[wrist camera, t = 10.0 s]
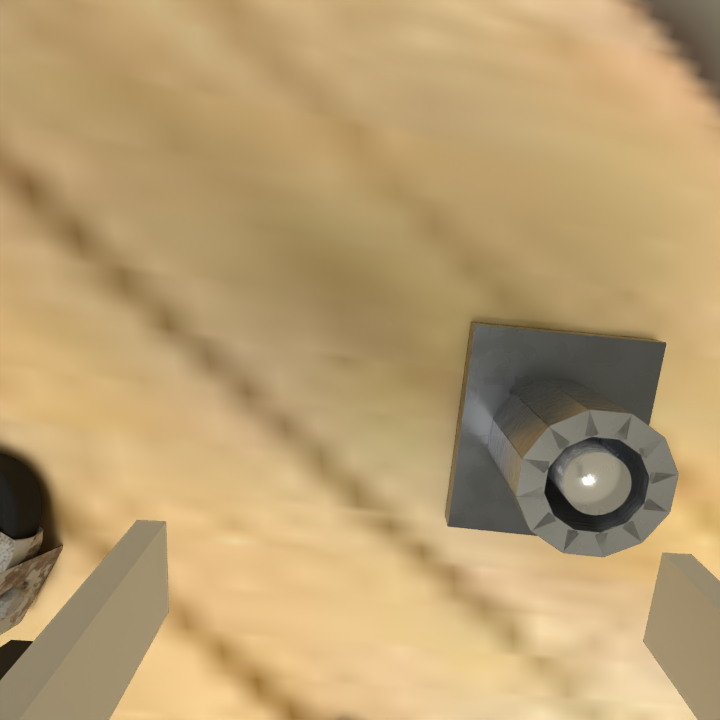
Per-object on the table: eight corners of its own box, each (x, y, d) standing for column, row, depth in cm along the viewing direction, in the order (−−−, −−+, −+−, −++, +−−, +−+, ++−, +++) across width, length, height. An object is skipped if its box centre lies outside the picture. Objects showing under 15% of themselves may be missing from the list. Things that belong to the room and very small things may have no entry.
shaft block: (471, 321, 33) (501, 340, 24) (653, 339, 33) (747, 364, 24) (445, 515, 35) (464, 592, 27) (613, 533, 35) (685, 616, 27)
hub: (498, 374, 32) (531, 403, 25) (623, 386, 32) (691, 419, 25) (481, 489, 33) (507, 547, 27) (600, 501, 33) (658, 563, 26)
